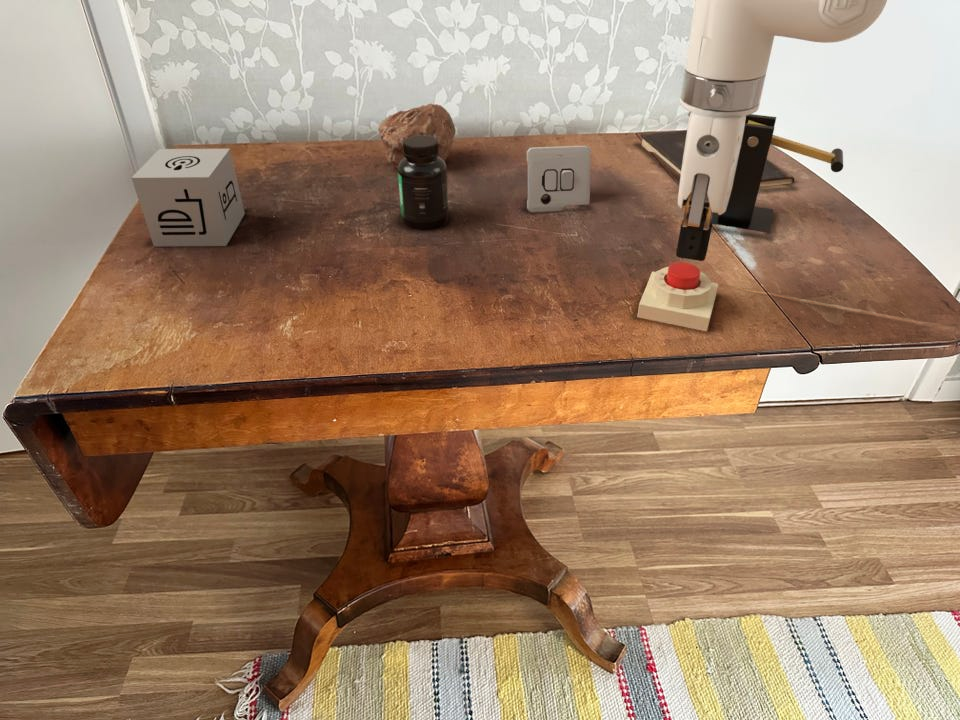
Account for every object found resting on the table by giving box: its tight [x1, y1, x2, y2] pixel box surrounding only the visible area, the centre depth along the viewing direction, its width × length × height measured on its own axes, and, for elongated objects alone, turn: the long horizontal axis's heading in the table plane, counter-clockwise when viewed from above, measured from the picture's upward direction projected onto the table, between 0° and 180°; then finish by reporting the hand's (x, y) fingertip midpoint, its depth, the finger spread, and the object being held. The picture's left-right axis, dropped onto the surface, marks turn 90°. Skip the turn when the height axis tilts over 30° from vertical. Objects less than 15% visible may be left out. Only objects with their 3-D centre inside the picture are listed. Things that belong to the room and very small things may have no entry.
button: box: [666, 262, 701, 290], centre depth 81 cm, size 4×4×2 cm
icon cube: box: [131, 148, 246, 248], centre depth 98 cm, size 10×10×10 cm
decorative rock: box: [377, 103, 457, 170], centre depth 117 cm, size 13×11×10 cm
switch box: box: [636, 266, 719, 332], centre depth 83 cm, size 8×8×4 cm
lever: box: [747, 120, 844, 173], centre depth 93 cm, size 13×5×2 cm, turn 68°
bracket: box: [710, 113, 777, 234], centre depth 98 cm, size 10×8×15 cm
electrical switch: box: [526, 145, 592, 213], centre depth 104 cm, size 9×5×9 cm, turn 95°
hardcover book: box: [639, 129, 795, 188], centre depth 118 cm, size 16×23×2 cm
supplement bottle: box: [397, 135, 449, 231], centre depth 99 cm, size 7×7×12 cm
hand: (691, 255), depth 80 cm, fingers closed
